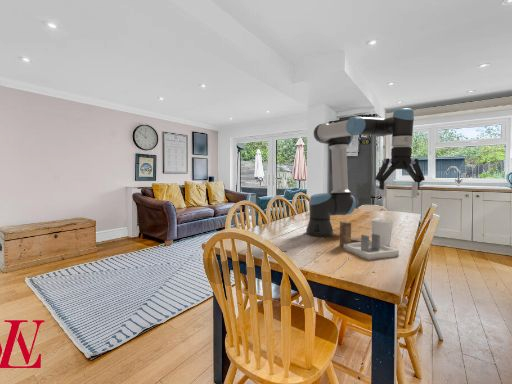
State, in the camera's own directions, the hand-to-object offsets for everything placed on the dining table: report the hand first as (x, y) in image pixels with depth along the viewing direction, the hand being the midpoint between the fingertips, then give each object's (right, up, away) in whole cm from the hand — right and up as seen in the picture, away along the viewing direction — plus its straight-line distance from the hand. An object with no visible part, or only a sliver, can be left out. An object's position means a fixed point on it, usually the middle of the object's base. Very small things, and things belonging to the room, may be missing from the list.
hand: (398, 197), depth 112 cm
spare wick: (-10, -24, +21) cm, 34 cm away
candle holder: (+2, -24, +20) cm, 31 cm away
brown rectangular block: (-18, -24, +14) cm, 34 cm away
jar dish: (-10, -25, +6) cm, 27 cm away
